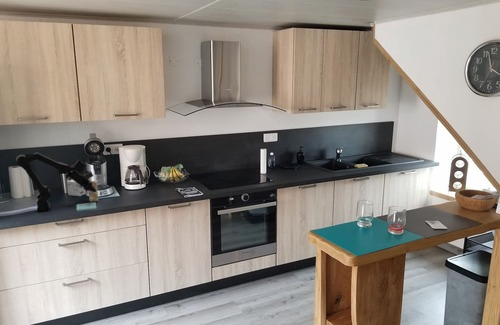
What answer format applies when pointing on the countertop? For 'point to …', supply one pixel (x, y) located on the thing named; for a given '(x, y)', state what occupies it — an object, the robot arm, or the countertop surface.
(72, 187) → the light bulb box
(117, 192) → the countertop surface
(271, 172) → the countertop surface
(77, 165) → the robot arm
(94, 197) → the beech block
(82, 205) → the teal pad
